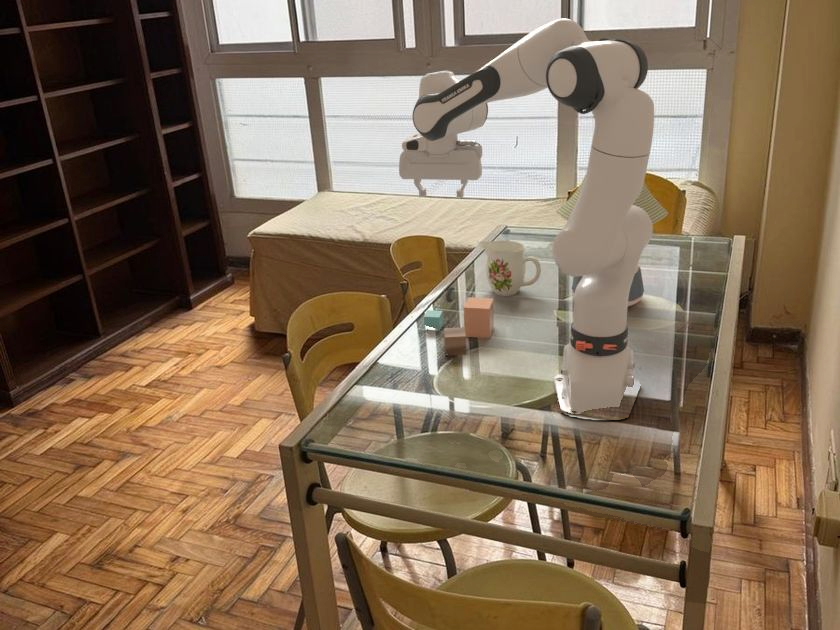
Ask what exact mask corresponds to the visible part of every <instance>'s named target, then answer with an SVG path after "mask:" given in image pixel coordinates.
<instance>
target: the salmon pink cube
mask: <svg viewBox="0 0 840 630" xmlns="http://www.w3.org/2000/svg"><path fill="white" fill-rule="evenodd" d="M494 309H495V308H494V298H488V297H487V298H486V297H471V296H469V297H468V298H467V300H466V302H465V304H464V305H463V321H464V322H463V327H464V328H465V334H466V338H482V339H491V336H492V333H493V330H494V328H495V325H494V324H495V323H494V322H495V319H494V316H495V315H494V313H495V312H494Z"/></svg>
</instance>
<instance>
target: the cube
mask: <svg viewBox="0 0 840 630" xmlns="http://www.w3.org/2000/svg"><path fill="white" fill-rule="evenodd" d="M423 323H424V325H426V326H429V327H433V328H436V329H438V330H440V329H441V330H442V328H443V326H444V316H443V310H429V309H428V310H427V309H426V311H425V314H424V316H423ZM424 325H423V326H424ZM442 325H443V326H442ZM441 327H442V328H441ZM441 330H440V331H441Z"/></svg>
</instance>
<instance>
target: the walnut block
mask: <svg viewBox="0 0 840 630" xmlns="http://www.w3.org/2000/svg"><path fill="white" fill-rule="evenodd" d="M443 337H444V339H443V340H444V343H443V345H444V353H445V354H448V355H450V356H464V355H467V337H466V334H465V328H464V326H463V327H462V326H461V327H445V328H443Z"/></svg>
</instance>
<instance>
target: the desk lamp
mask: <svg viewBox="0 0 840 630" xmlns="http://www.w3.org/2000/svg"><path fill="white" fill-rule="evenodd" d="M585 177H586V174H585V175H584V177H583V179H582V181H581V183H580V184H579V186H578V188H577V189H576V190H575V191H574V193H573V194H572V195H571V196H570V197H569V198H568V199H567V200H566V201H565V202H564V204H563V205H562V206H561V207H559V209H557V211H556V212H555V213H556V214H557V215H558V216H560V217H561V218H562V219H564V220H565V221H568V219H569V217H570V215H571V213H572V211H573V209H574V207H575V204H576V202H577V200H578V198H579V195H580V193H581V190H582V188H583V185H584V181H585ZM632 205H635V206H638V207H640V208H642V209H643V210H644V211H645V212H646V213H647V214H648V215H649V217H650V219H651V221H652V225H654V224H656V223H658V222H659V221H661V220H663V219H664V218H665V217H667V216H668V214H669V212H668V211H667V210H666V209H665V208H664V207H663V205H661V204H660V203H659V201H658V200H657V199H656V197H655V196H654V195H653V194H652V193H651V191H650V190H649V188H648V186H647V184H646V182H645V181H644V184H643V189H642V191H641V193H640V195H639V196H638V198H637V199H636V200H635V201H634V203H633V204H632ZM582 277H583V276H577V277H574V276H573V281H572V286H571V290H572V292H571V293H572V296H573V297H574V293H575V289H576V287H577V285H578V283H579V282H580V281H581V279H582ZM644 292H645V289H644V282H643V275H642V269H641V266H640V265H639V264H638V265H637V268H636V271H635V274H634V277H633V281H632V284H631V288H630V292H629V297H628V307H631V306H633V305H635V304H637V303H638V302H640V301H642V300H643V297H644Z"/></svg>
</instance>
